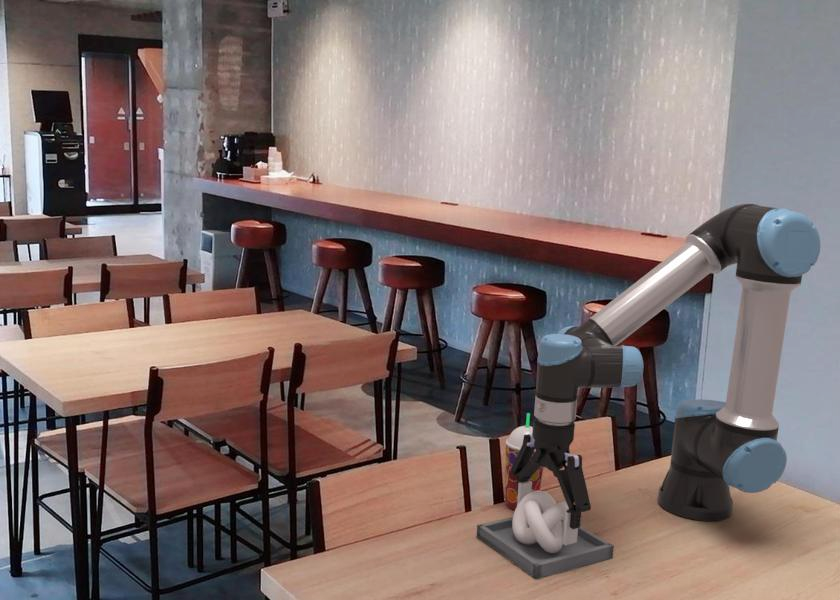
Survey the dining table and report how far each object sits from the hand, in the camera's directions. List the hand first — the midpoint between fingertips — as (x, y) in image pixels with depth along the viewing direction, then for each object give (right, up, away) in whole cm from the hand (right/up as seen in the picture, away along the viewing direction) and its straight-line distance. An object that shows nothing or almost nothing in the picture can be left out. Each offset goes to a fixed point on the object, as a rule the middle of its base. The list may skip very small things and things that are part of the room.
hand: (545, 528), depth 169 cm
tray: (0, -4, +1) cm, 4 cm away
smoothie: (-2, 0, +19) cm, 19 cm away
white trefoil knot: (0, -3, 0) cm, 3 cm away
